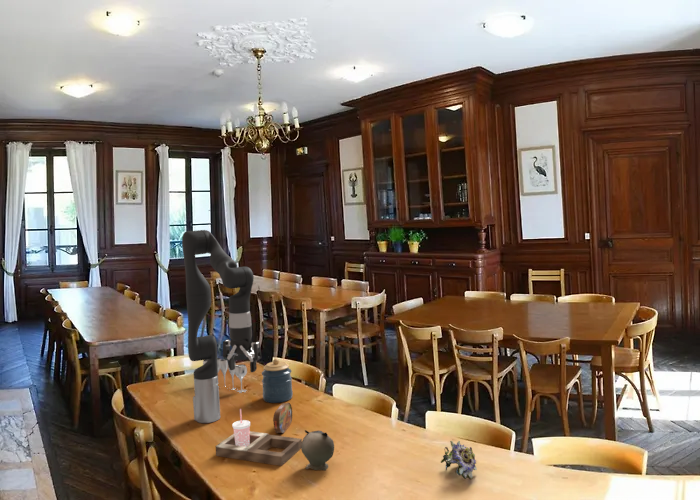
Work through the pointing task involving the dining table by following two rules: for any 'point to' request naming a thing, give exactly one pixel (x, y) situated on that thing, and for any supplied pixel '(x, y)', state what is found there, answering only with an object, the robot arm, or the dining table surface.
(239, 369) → the goblet set
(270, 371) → the canister
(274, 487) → the dining table surface
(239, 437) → the beverage cup
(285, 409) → the tin
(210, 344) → the robot arm
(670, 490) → the dining table surface
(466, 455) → the passion flower
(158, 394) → the dining table surface
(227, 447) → the pocket rack
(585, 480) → the dining table surface
